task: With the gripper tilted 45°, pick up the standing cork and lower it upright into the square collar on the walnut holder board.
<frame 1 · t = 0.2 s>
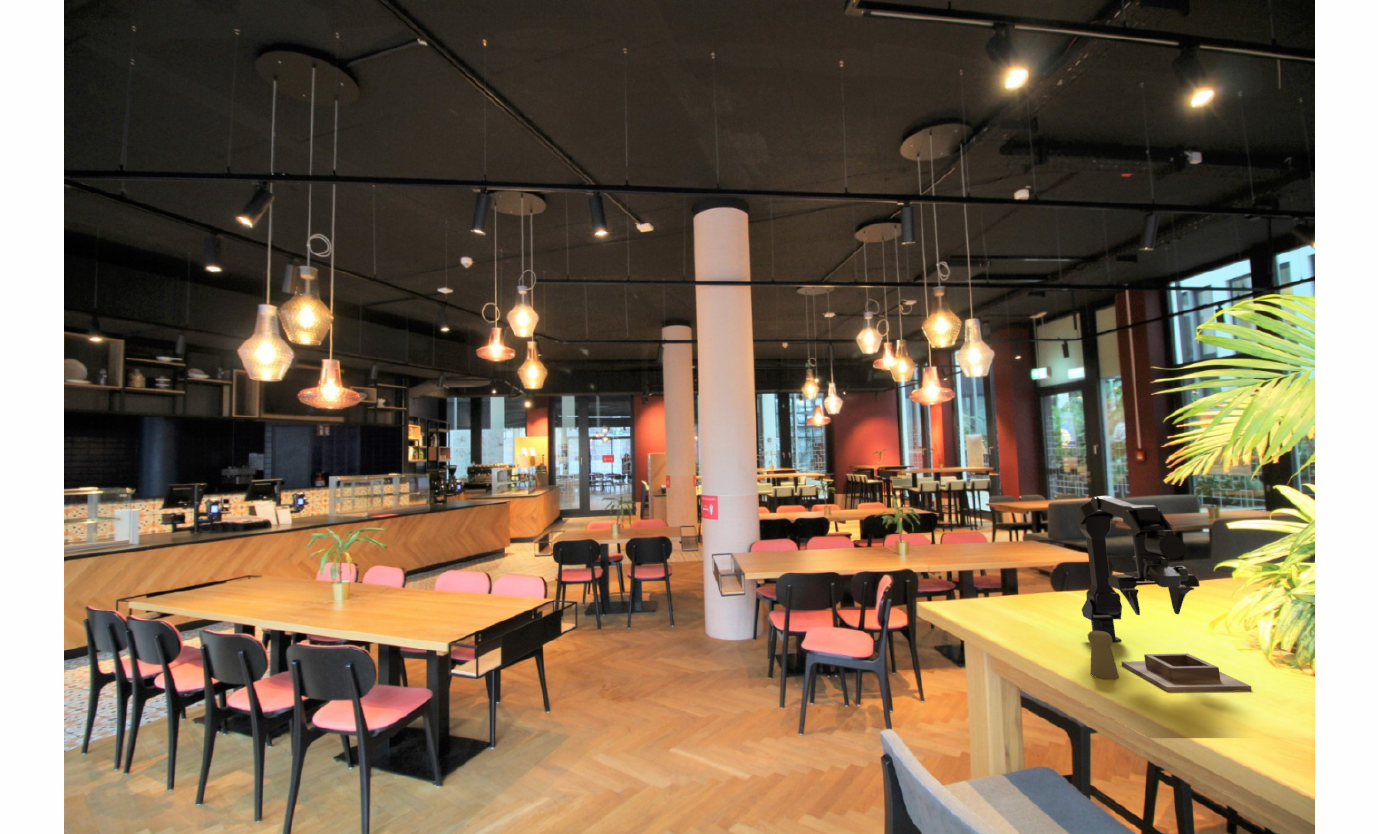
hand: (1157, 614, 150), 14 cm above the table, tool pointing down, fingers open, 9 cm apart
holder board: (1182, 676, 145), on the table
cork: (1104, 676, 149), on the table
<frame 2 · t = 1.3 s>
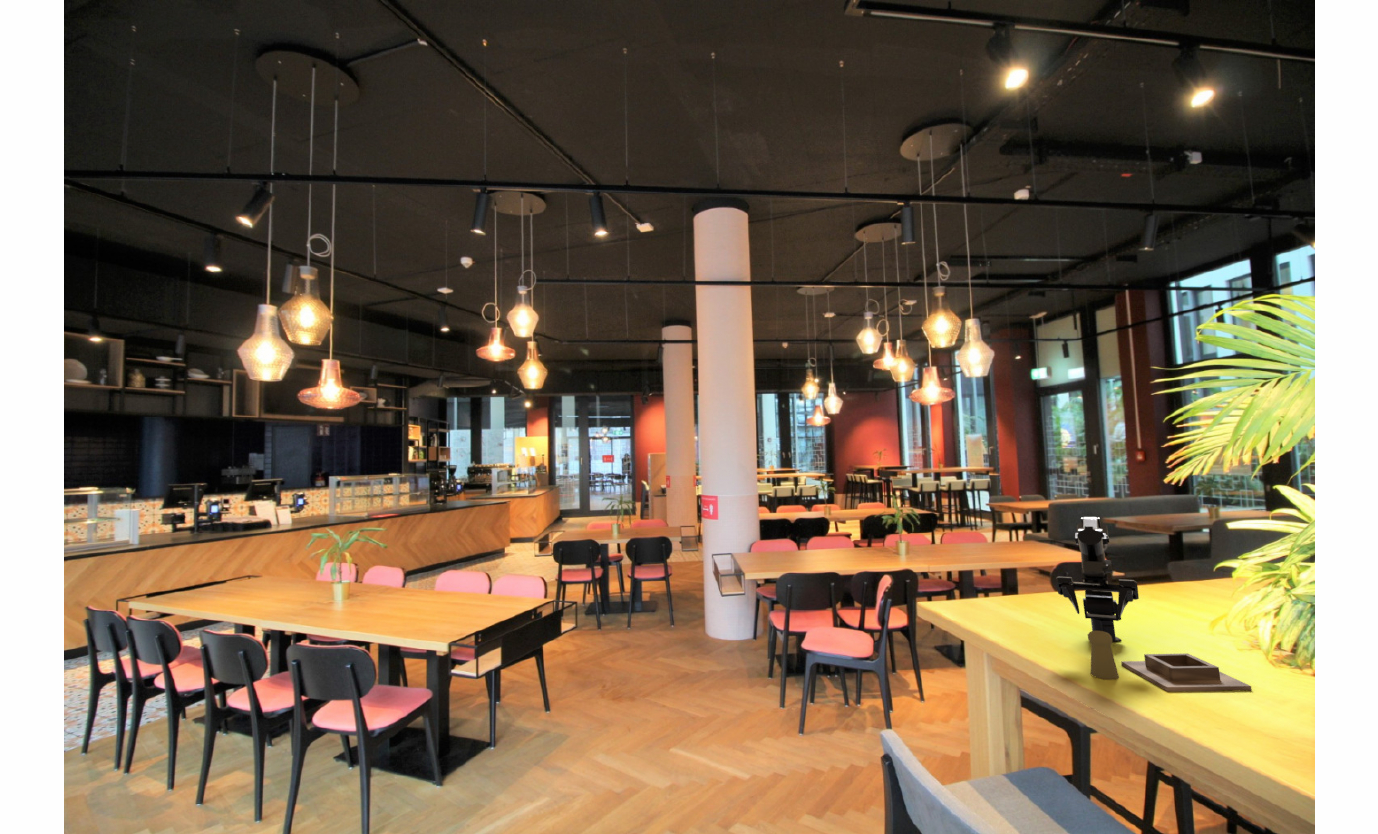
hand: (1098, 614, 157), 13 cm above the table, tool tilted 45°, fingers open, 9 cm apart
nothing on the table moved.
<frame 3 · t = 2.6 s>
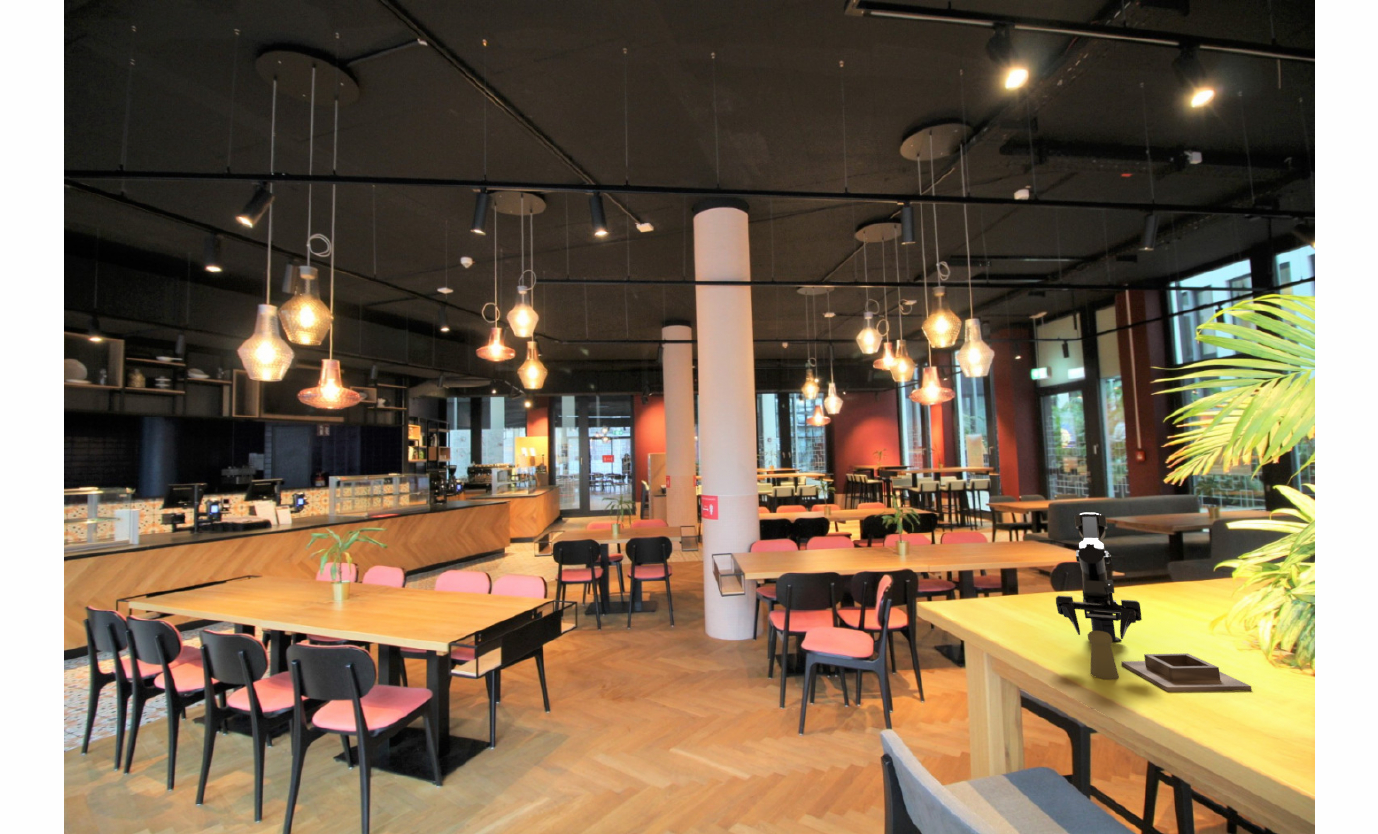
hand: (1100, 636, 152), 9 cm above the table, tool tilted 45°, fingers open, 9 cm apart
nothing on the table moved.
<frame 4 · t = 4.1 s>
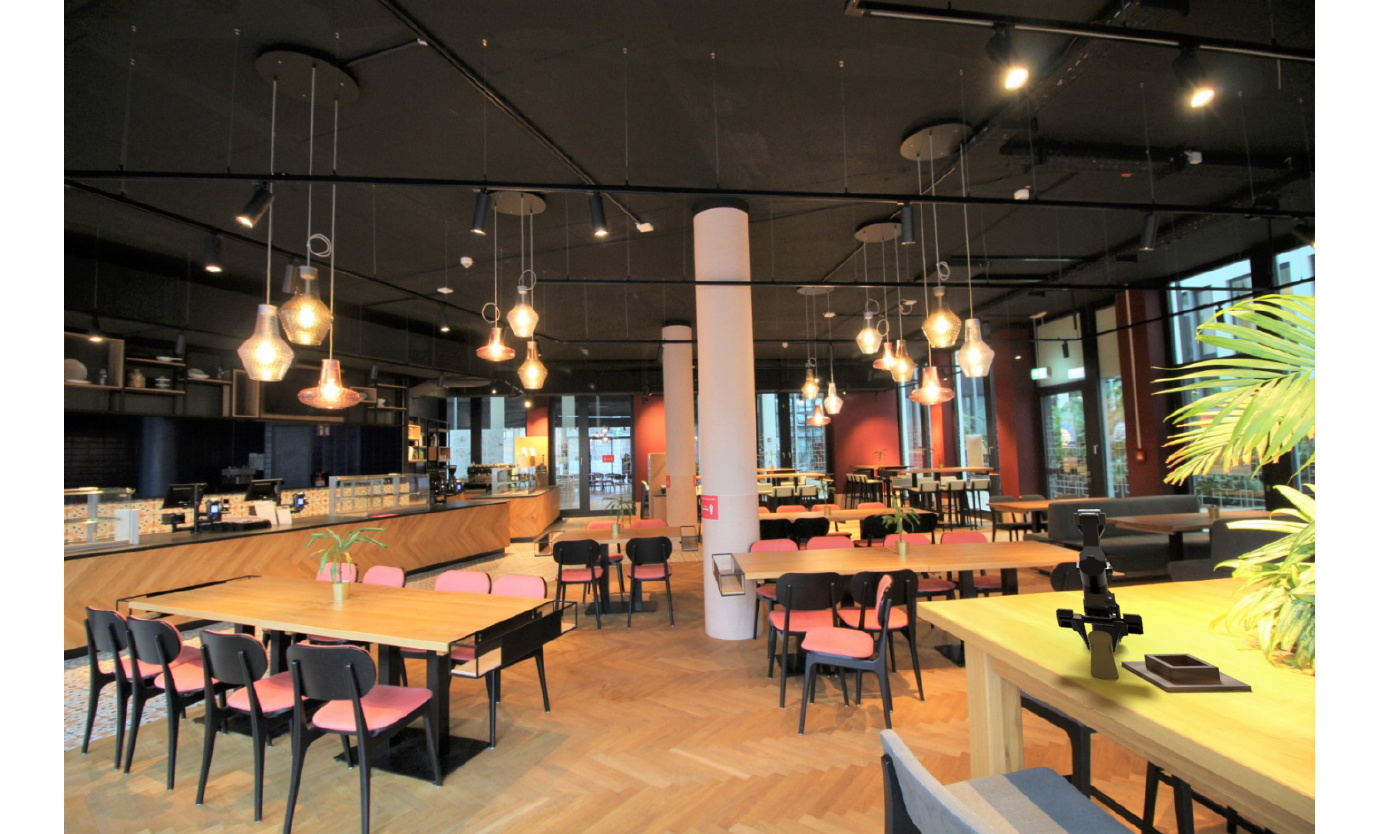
hand: (1101, 650, 149), 7 cm above the table, tool tilted 45°, fingers closed on cork, 5 cm apart
cork: (1104, 676, 149), on the table, touching gripper
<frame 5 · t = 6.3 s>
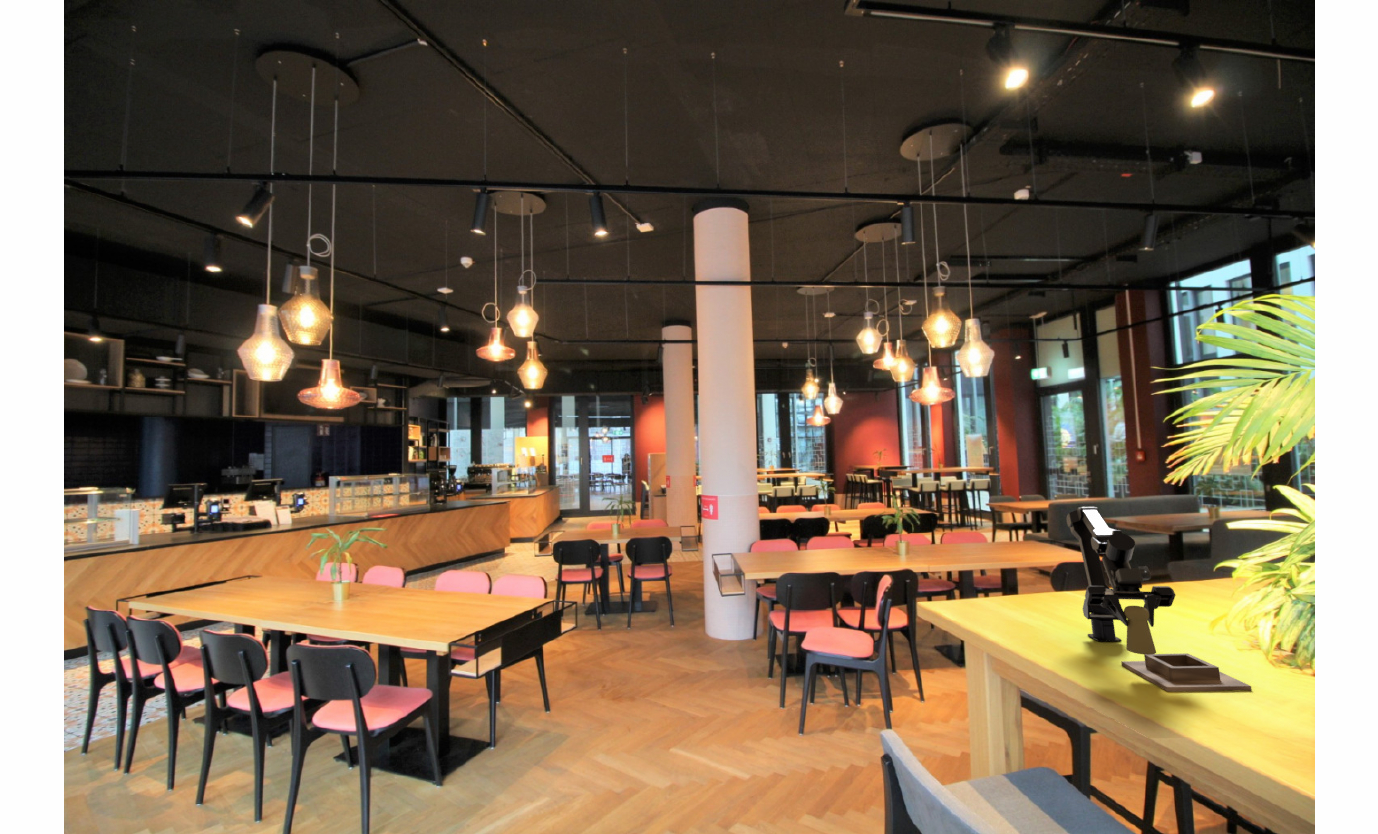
hand: (1139, 625, 146), 13 cm above the table, tool tilted 45°, fingers closed on cork, 5 cm apart
cork: (1141, 651, 147), point 6 cm above the table, touching gripper
when the fingers open (8 cm above the table, at t = 8.7 s): cork stays where it is, resting on holder board.
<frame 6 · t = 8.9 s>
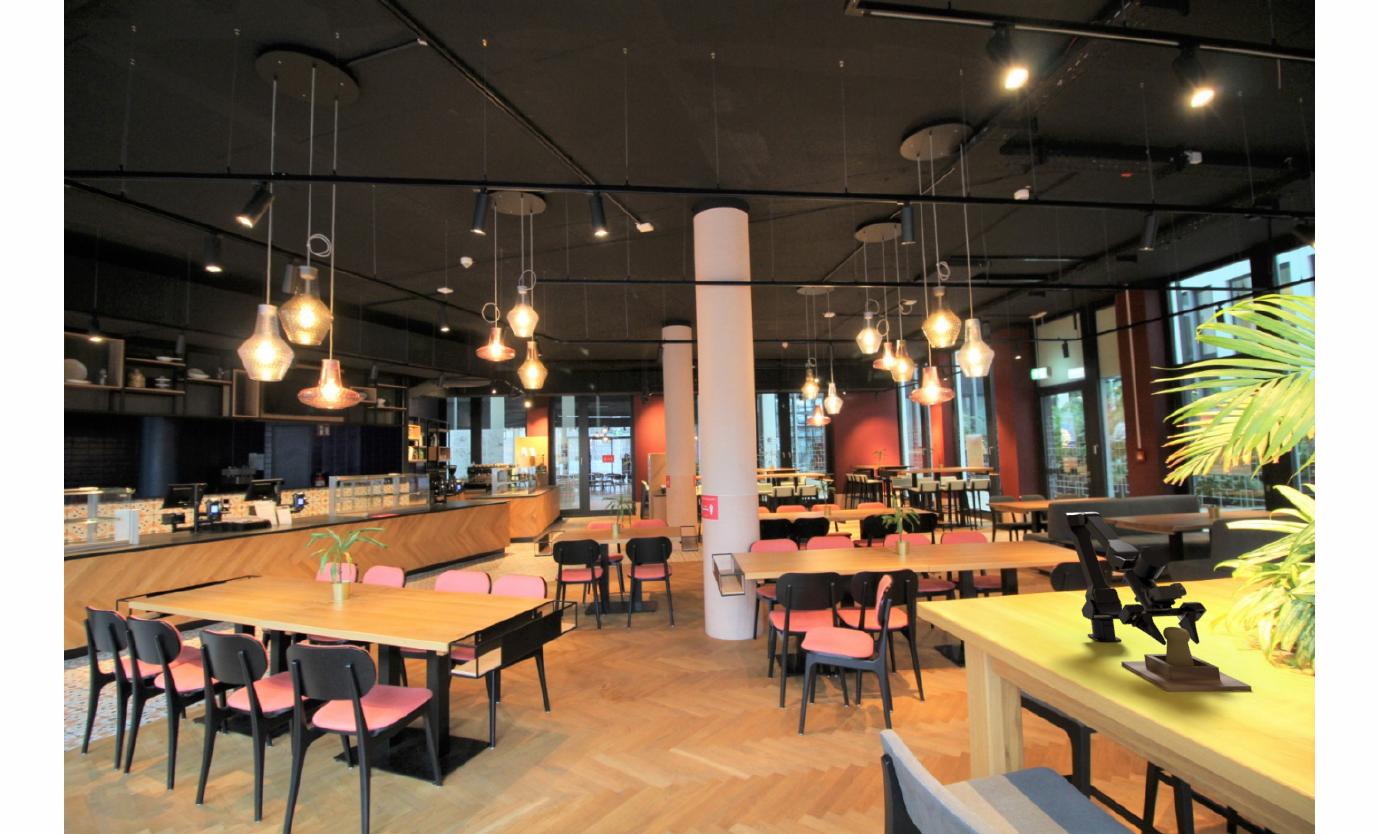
hand: (1181, 643, 144), 9 cm above the table, tool tilted 45°, fingers open, 7 cm apart
cork: (1181, 673, 145), point 1 cm above the table, touching holder board
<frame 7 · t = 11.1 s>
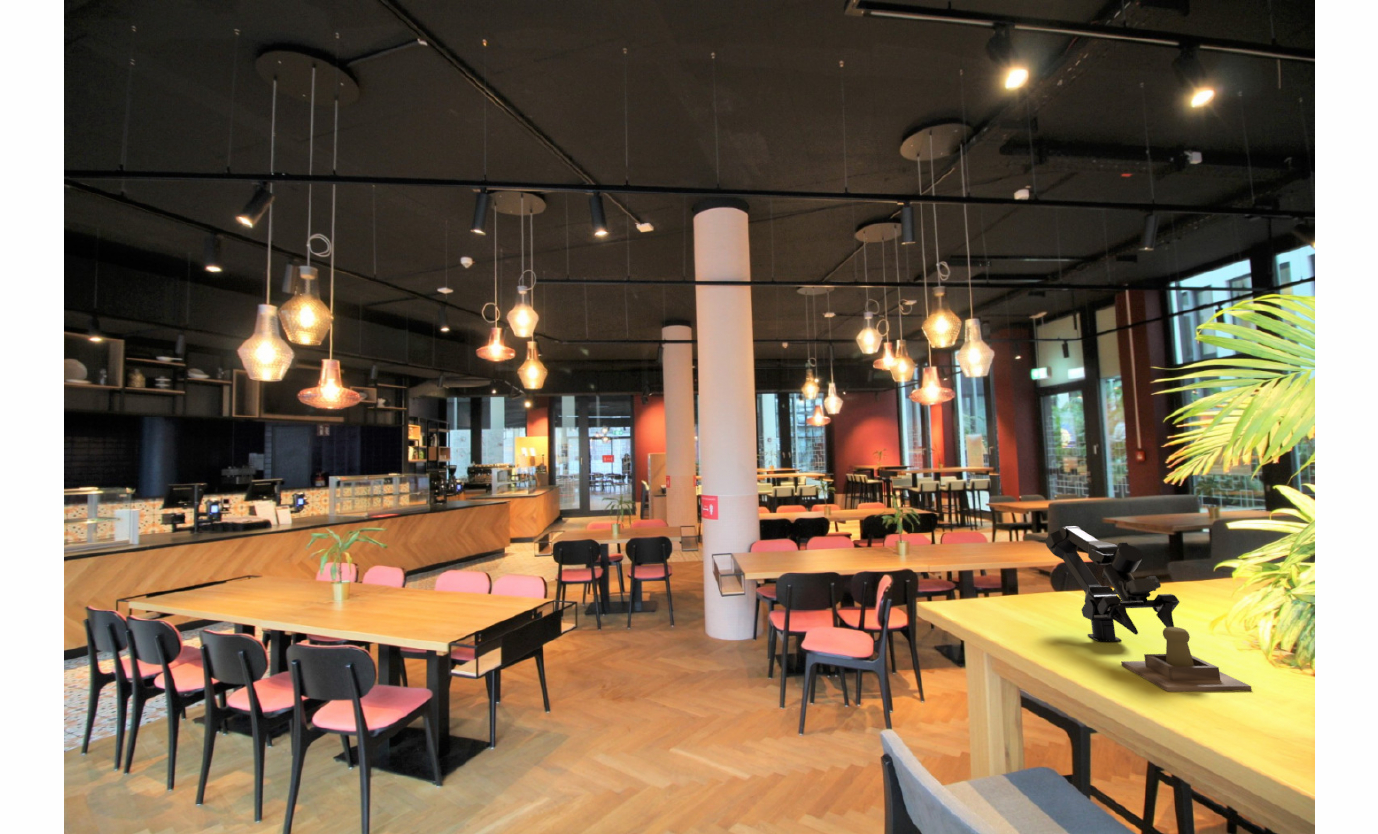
hand: (1155, 633, 154), 8 cm above the table, tool tilted 45°, fingers open, 9 cm apart
nothing on the table moved.
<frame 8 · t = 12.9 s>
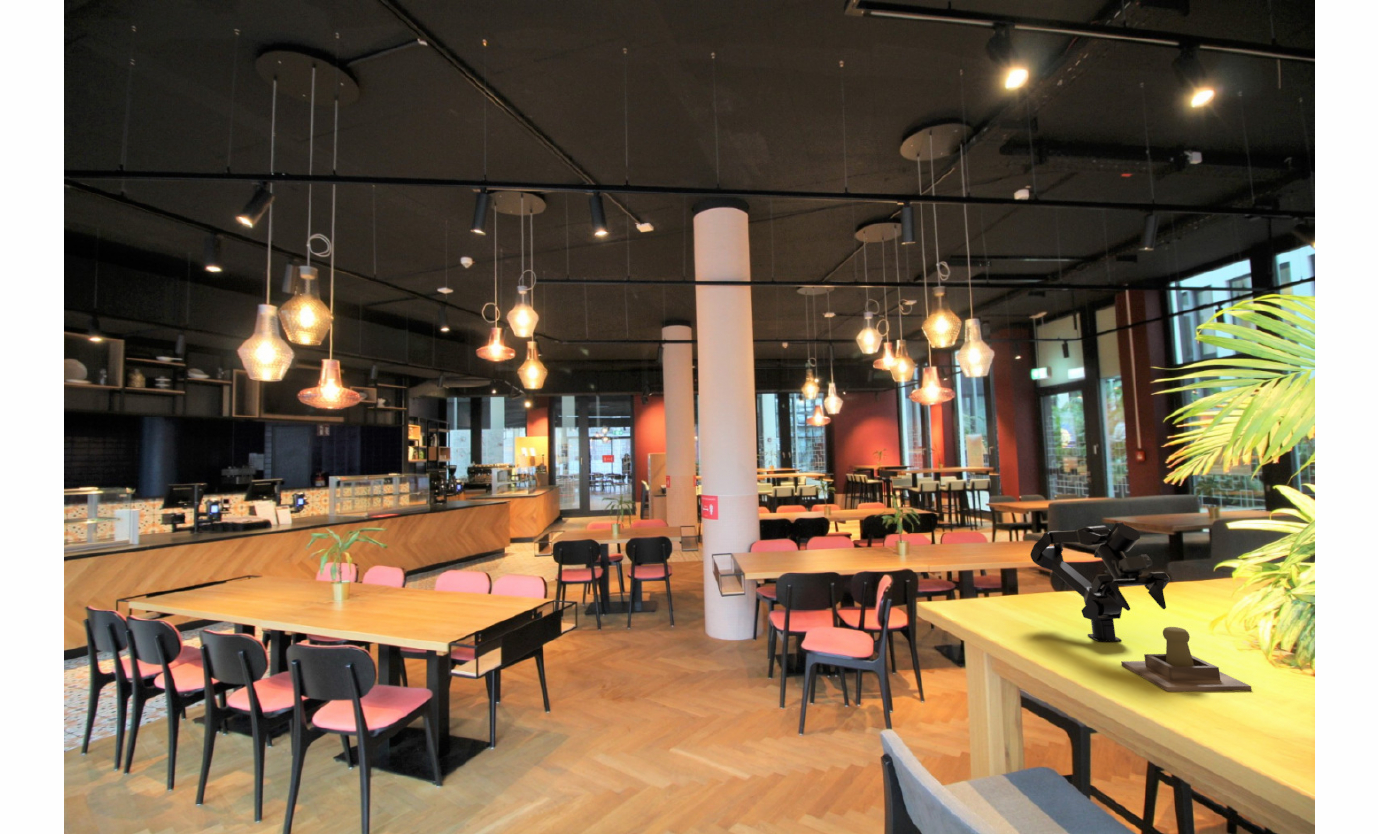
hand: (1147, 609, 158), 14 cm above the table, tool tilted 45°, fingers open, 9 cm apart
nothing on the table moved.
at the end: cork 0.1 cm off-centre on the holder board, point 0.8 cm above the holder board's base; cork tilted 0°; the gripper is holding nothing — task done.
